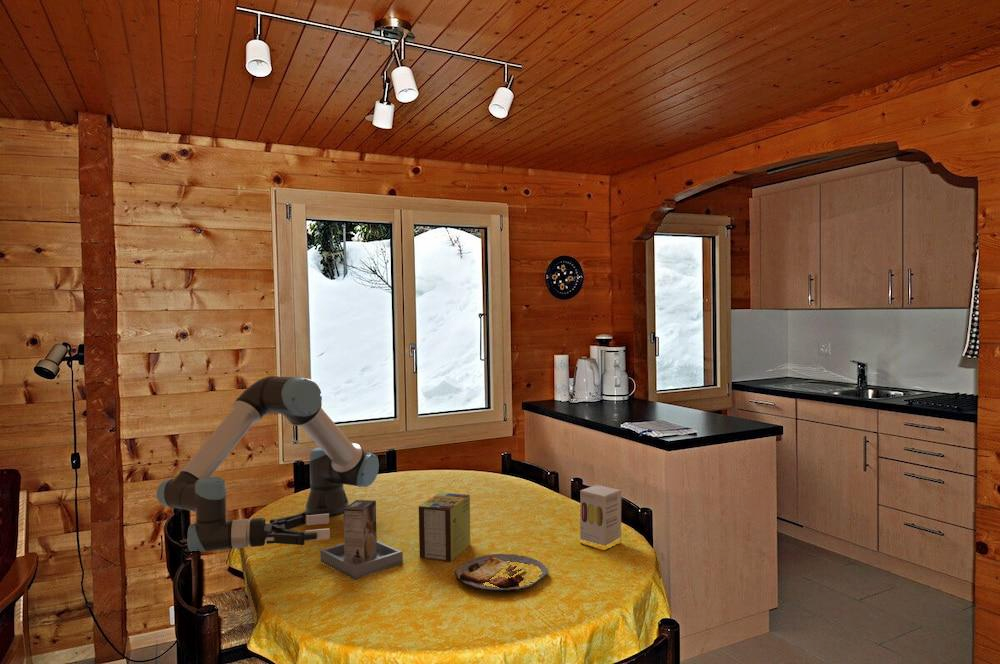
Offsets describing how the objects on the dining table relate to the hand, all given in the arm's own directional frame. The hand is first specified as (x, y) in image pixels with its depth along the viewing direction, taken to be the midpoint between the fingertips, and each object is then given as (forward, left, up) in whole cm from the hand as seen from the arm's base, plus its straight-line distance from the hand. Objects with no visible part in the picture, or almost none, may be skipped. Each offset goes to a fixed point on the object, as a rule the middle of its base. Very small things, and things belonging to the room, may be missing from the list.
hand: (329, 525), depth 188 cm
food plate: (-29, +40, -12) cm, 51 cm away
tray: (-8, +4, -12) cm, 14 cm away
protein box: (-31, +14, -12) cm, 36 cm away
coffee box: (-7, +4, -11) cm, 14 cm away
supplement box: (-68, +44, -12) cm, 82 cm away
